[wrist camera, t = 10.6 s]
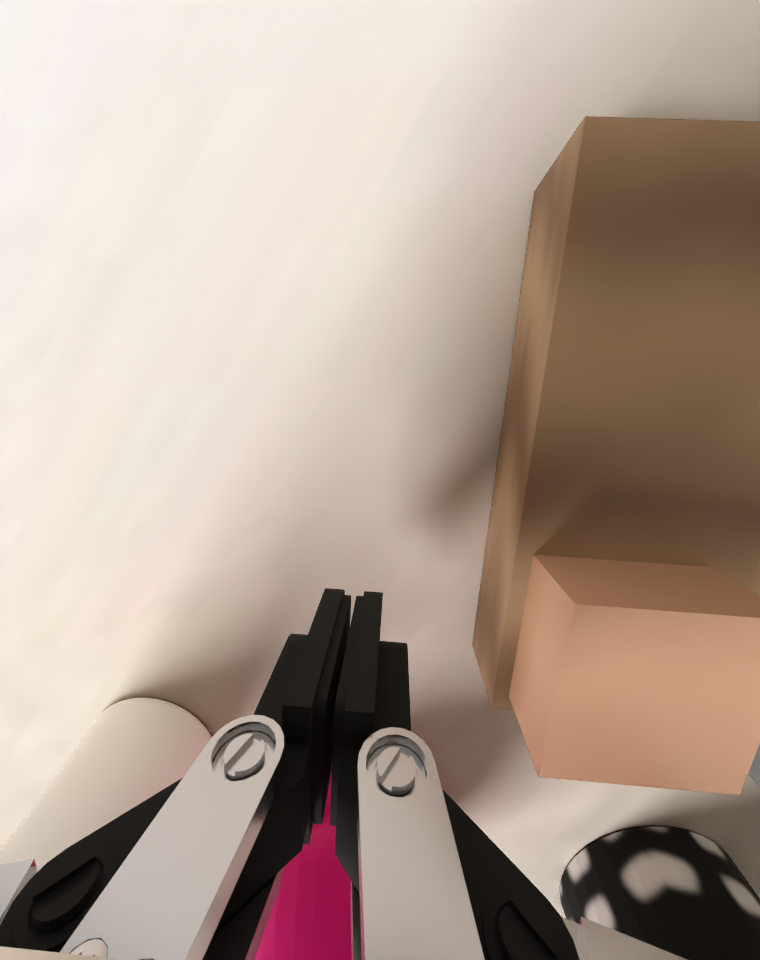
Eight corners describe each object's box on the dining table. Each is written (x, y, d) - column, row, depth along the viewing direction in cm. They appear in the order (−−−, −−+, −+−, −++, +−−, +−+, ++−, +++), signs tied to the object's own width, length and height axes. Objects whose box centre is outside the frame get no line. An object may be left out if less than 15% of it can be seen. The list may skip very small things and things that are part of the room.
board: (534, 192, 11) (585, 116, 8) (878, 204, 10) (1064, 131, 7) (472, 644, 15) (491, 707, 12) (722, 664, 14) (806, 734, 11)
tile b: (533, 554, 10) (575, 603, 8) (709, 566, 10) (808, 621, 8) (508, 695, 11) (538, 776, 9) (666, 709, 11) (739, 794, 9)
